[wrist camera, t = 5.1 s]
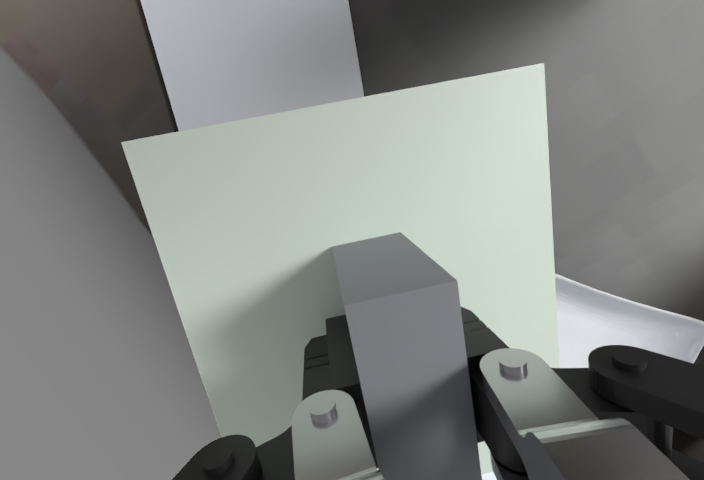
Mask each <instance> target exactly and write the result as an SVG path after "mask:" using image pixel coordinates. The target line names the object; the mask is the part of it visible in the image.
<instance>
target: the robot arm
mask: <svg viewBox="0 0 704 480" xmlns="http://www.w3.org/2000/svg"><path fill="white" fill-rule="evenodd" d="M461 314H462V322H463V331H464V339H465V347H466V355H467V363H468V371H469V379H470V387H471V395H472V403H473V411H474V419H475V427H476V435H477V443H479V442H483V441H485V443H486V445H487V446H488V448H489V451H490V460H491V467H492V470H493V472H494V474H495V476H496V479H497V480H704V463H702V462H700V461H698V460H695V459H693V458H691V457H689V456H687V455H684V454H682V453H680V452H678V451H676V450H673V449H672V438H673V428H676V429H678V430H681V431H683V432H685V433H688V434H690V435H693V436H695V437H698V438H700V439H702V440H704V366H700V365H697V364H693V363H690V362H686V361H683V360H679V359H676V358H673V357H669V356H666V355H662V354H659V353H655V352H652V351H648V350H645V349H641V348H637V347H632V346H626V345H607V346H602V347H598V348H596V349H594V350H593V351H591V353H590V354H589V356H588V366H589V368H551V367H550V366H549V365H548V364H547V363H546V362H545V361H544V360H543V359H542V358H541V357H539V356H538V355H536V354H534V353H532V352H529V351H526V350H522V349H514V348H509V347H508V346H507V345H506V344H505V343H504V342H503V341H502V340H501V339H500V338H499V337H498V336H497V335H496V334H495V333H494V332H493V331H492V330H491V329H489V328H487V326H486V325H485V324H484V323H483V322H482V321H480V319H479V318H478V317H477V316H476V315H475V314H474V313H473V312H472V311H471V310H468V309H466V308H463V307H461ZM325 322H326V335H323V336H319V337H314V338H311V340H310V341H309V343H308V344H307V346H306V347H305V348H304V370H303V395H302V402H301V403H300V404H299V405H298V406H297V407H296V409H295V410H294V412H293V415H292V420H291V424H292V425H291V426H290V427H289V428H288V429H287V430H286V431H285V432H283V433H282V434H280V435H279V436H277V437H275V438H273V439H271V440H269V441H267V442H265V443H263V444H261V445H259V446H257V447H255V444H254V442H253V441H252V440H251V439H250V438H249V437H247V436H244V435H238V434H237V435H229V436H225V437H222V438H219V439H217V440H215V441H213V442H211V443H209V444H208V445H206V446H205V447H203V448H202V449H201V450H200V451H199V452H197V453H196V454H195V455H194V456H193V457H192V458H191V459H190V461H189V462H188V463H187V464H186V465H185V466H184V467H183V468H182V469H181V471H180V472H179V473H178V474H177V475H176V476H175V477H174V478H173V479H172V480H384V478H383V476H382V473H381V471H380V470H377V468H378V464H377V459H376V455H375V450H374V445H373V441H372V436H371V431H370V426H369V422H368V417H367V412H366V408H365V403H364V398H363V393H362V389H361V384H360V379H359V375H358V370H357V365H356V360H355V356H354V351H353V346H352V342H351V337H350V332H349V327H348V323H347V318H346V314H345V315H340V316H336V317H331V318H327V319H325Z"/></svg>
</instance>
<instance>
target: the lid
mask: <svg viewBox="0 0 704 480" xmlns="http://www.w3.org/2000/svg"><path fill="white" fill-rule="evenodd" d="M121 144H122V146H123V149H124V152H125V155H126V158H127V161H128V164H129V167H130V170H131V173H132V176H133V179H134V182H135V185H136V188H137V191H138V194H139V197H140V200H141V203H142V206H143V208H144V211H145V214H146V217H147V220H148V223H149V226H150V229H151V232H152V235H153V238H154V241H155V244H156V247H157V250H158V253H159V256H160V258H161V262H162V265H163V267H164V270H165V273H166V276H167V279H168V282H169V285H170V288H171V291H172V294H173V297H174V300H175V303H176V306H177V309H178V312H179V315H180V318H181V320H182V324H183V327H184V329H185V332H186V335H187V338H188V341H189V344H190V347H191V350H192V353H193V356H194V359H195V362H196V365H197V368H198V371H199V374H200V376H201V380H202V383H203V385H204V388H205V391H206V394H207V397H208V400H209V403H210V406H211V409H212V412H213V415H214V418H215V421H216V424H217V427H218V429H219V433H220V436H221V438H222V437H225V436H229V435H237V434H238V435H244V436H247V437H249V438H250V439H251V440H252V441H253V442H254V444H255V447H257V446H259V445H261V444H263V443H265V442H267V441H269V440H271V439H273V438H275V437H277V436H279V435H280V434H282V433H283V432H285V431H286V430H287V429H288V428H289V427H290V426H291V425H292V424H291V420H292V415H293V412H294V410H295V409H296V407H297V406H298V405H299V404H300V403H301V402H302V395H303V370H304V348H305V347H306V346H307V344H308V343H309V341H310V340H311V338H314V337H319V336H323V335H326V322H325V319H327V318H331V317H336V316H340V315H345V314H346V318H347V323H348V327H349V332H350V337H351V342H352V346H353V351H354V356H355V360H356V365H357V370H358V375H359V379H360V384H361V389H362V393H363V398H364V403H365V408H366V412H367V417H368V422H369V426H370V431H371V436H372V441H373V445H374V450H375V455H376V459H377V464H378V468H377V470H380V471H381V473H382V476H383V478H384V480H482V476H481V475H482V474H486V473H490V472H493V470H492V467H491V460H490V451H489V448H488V446H487V445H486V443H485V441H483V442H479V443H477V435H476V427H475V419H474V411H473V403H472V395H471V387H470V379H469V371H468V363H467V355H466V347H465V339H464V331H463V322H462V314H461V307H463V308H466V309H468V310H471V311H472V312H473V313H474V314H475V315H476V316H477V317H478V318H479V319H480V321H482V322H483V323H484V324H485V325H486V326H487V328H489V329H491V330H492V331H493V332H494V333H495V334H496V335H497V336H498V337H499V338H500V339H501V340H502V341H503V342H504V343H505V344H506V345H507V346H508V347H509V348H514V349H522V350H526V351H529V352H532V353H534V354H536V355H538V356H539V357H541V358H542V359H543V360H544V361H545V362H546V363H547V364H548V365H549V366H550V367H551V368H560V365H559V345H558V326H557V306H556V287H555V267H554V248H553V229H552V209H551V190H550V170H549V151H548V131H547V112H546V92H545V73H544V63H541V64H536V65H531V66H525V67H520V68H515V69H509V70H504V71H499V72H493V73H488V74H483V75H477V76H472V77H467V78H461V79H456V80H451V81H445V82H440V83H435V84H429V85H424V86H419V87H413V88H408V89H403V90H397V91H392V92H387V93H381V94H376V95H371V96H365V97H360V98H355V99H349V100H344V101H339V102H333V103H328V104H323V105H317V106H312V107H307V108H301V109H296V110H291V111H285V112H280V113H275V114H269V115H264V116H259V117H253V118H248V119H243V120H237V121H232V122H227V123H221V124H216V125H211V126H205V127H200V128H195V129H189V130H184V131H179V132H173V133H168V134H163V135H157V136H152V137H147V138H141V139H136V140H131V141H125V142H121Z"/></svg>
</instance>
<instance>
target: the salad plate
mask: <svg viewBox="0 0 704 480" xmlns="http://www.w3.org/2000/svg"><path fill="white" fill-rule="evenodd" d="M555 287H556V306H557V326H558V345H559V365H560V368H589V366H588V356H589V354H590V353H591V351H593V350H594V349H596V348H598V347H602V346H607V345H626V346H632V347H637V348H641V349H645V350H648V351H652V352H655V353H659V354H662V355H666V356H669V357H673V358H676V359H679V360H683V361H686V362H690V363H693V364H694V362H695V360H696V358H697V356H698V355H699V353H700V351H701V349H702V348H703V346H704V321H701V320H698V319H695V318H692V317H688V316H685V315H681V314H677V313H673V312H670V311H666V310H662V309H658V308H655V307H651V306H648V305H644V304H641V303H638V302H634V301H631V300H627V299H624V298H621V297H618V296H615V295H612V294H609V293H606V292H603V291H600V290H597V289H594V288H592V287H589V286H586V285H584V284H581V283H578V282H576V281H573V280H571V279H568V278H566V277H563V276H561V275H558V274H555ZM481 476H482V480H497V479H496V476H495V474H494V472H490V473H486V474H482V475H481Z"/></svg>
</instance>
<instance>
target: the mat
mask: <svg viewBox="0 0 704 480" xmlns="http://www.w3.org/2000/svg"><path fill="white" fill-rule="evenodd" d="M140 1H141V4H142V7H143V11H144V14H145V18H146V21H147V24H148V28H149V31H150V35H151V38H152V41H153V45H154V48H155V52H156V55H157V59H158V62H159V65H160V69H161V72H162V76H163V79H164V82H165V86H166V89H167V93H168V96H169V99H170V103H171V106H172V110H173V113H174V116H175V120H176V123H177V127H178V130H179V131H184V130H189V129H195V128H200V127H205V126H211V125H216V124H221V123H227V122H232V121H237V120H243V119H248V118H253V117H259V116H264V115H269V114H275V113H280V112H285V111H291V110H296V109H301V108H307V107H312V106H317V105H323V104H328V103H333V102H339V101H344V100H349V99H355V98H360V97H364V92H363V86H362V80H361V74H360V68H359V62H358V56H357V50H356V44H355V38H354V32H353V26H352V20H351V14H350V8H349V2H348V0H140Z"/></svg>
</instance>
